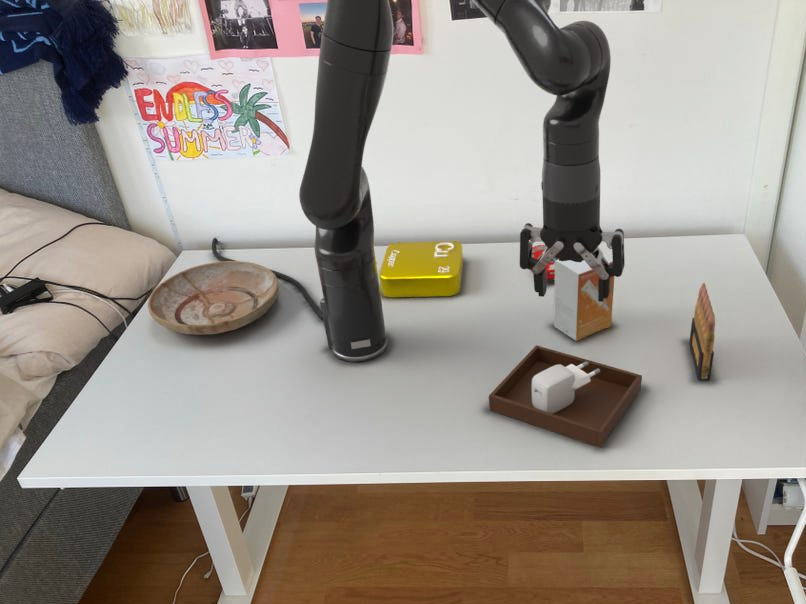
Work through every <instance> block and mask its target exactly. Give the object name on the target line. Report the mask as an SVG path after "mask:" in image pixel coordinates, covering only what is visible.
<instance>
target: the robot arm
mask: <svg viewBox="0 0 806 604" xmlns="http://www.w3.org/2000/svg"><path fill="white" fill-rule="evenodd" d="M326 1H327V2H326V8H325V16H324V19H323V20H324V21H323V26H322V33H321V40H320V46H319V47H320V48H319V55H318V66H317V75H316V76H317V78H316V87H315V100H314V101H315V102H314V120H313V129H312V130H313V132H312V138H311V141H310V142H311V143H310V147H309V150H308V151H309V152H308V157H307V161H306V165H305V168H304V172H303V175H302V179H301V183H300V187H299V191H298V195H299V196H298V198H299V204H300V207H301V210H302V212H303V214H304V216H305V217H306V218H307V220H308V221H309V222H310V223H311V224H312V225H313V226H315V237H314V244H313V245H314V255H315V260H316V266H317V270H318V275H319V280H320V287H321V292H322V297H323V298H321V299H320V301H319V305H320V308H319V306H318V304H317V303H316V302H315V301H314V300H313V298H312V297H311V295H310V294H309V292H308V291H307V289H306V288H305V286H303V285H302V284H301V283H300V282H299V281H297V280H296V279H295V278H293V277H291V276H289V275H287V274H284V273H282V272H279V271H276V270H273V269H270V268H268V269H269V270H271V271H272V272H273V273H274V274H275V276H276V277H277V278H280V279H283V280H284V281H287V282H289V283H291V284H293V285H294V286H295V287H296V288H298V290H299V291H300V292H301V294H302V295H303V297H304V298H305V300H306V301H307V302H308V304H309V305H310V306H311V308H312V309H313V312H315V314H316V315H317V316H318V318H319V319H320V320H321V321H323V326H324V331H325V336H326V341H327V348H328V349H329V350H331V351H332V352H333V355H334V356H335V357H336V358H337V359H338V360H339V359H340V360H342V361H344V362H350V363H357V362H366V361H369V360H372V359H375V358H377V357H379V356H381V355H382V354H383V353H384V352H386V350H387V348H388V343H389V342H388V336H387V332H386V326H385V315H384V310H383V304H382V295H381V286H380V279H379V273H378V267H377V259H376V252H375V242H374V240H375V224H374V223H375V221H374V214H373V204H372V196H371V187H370V183H369V178H368V176H367V175H368V174H367V173H366V171H365V169H364V167H363V158H364V154H365V153H364V152H365V147H366V142H367V139H368V135H369V132H370V131H371V127H372V124H373V121H374V118H375V115H376V112H377V109H378V107H379V104H380V102H381V101H380V100H381V97H382V93H383V90H384V87H385V83H386V79H387V74H388V69H389V64H390V58H391V52H392V48H393V42H394V20H393V14H392V9H391V5H390V0H326ZM471 1H472V2H473V4H474V5H475V6H476V7H477V8H478V9H479V10H480V12H482V13H483V14H484V15H485V16H486V17H487V18H488V19H489V20H490V22H492V23H493V25H494V26H496V28H497V29H499V31H500V32H502V33H503V35H504V36H505V39H506V40H507V42H508V44H509V46H510V48H511V50H512V52H513V53H514V55H515V57H516V58H517V60H518V62H519V63H520V64H521V67H522V69H523V70H524V72H525V73H526V75H527V76H528V78H529V79H530V80H531V81H532V83H533V84H535V86H537V87H538V88H540V89H541V90H542V91H544V92H545V93H547V94H550V95H553V96H555V101H554V103H553V104H552V106H551V107H550V108H549V109H548V111H547V112H546V114H545V116H544V118H543V122H542V150H543V151H542V152H543V154H542V155H543V159H542V169H541V182H540V183H541V185H540V186H541V191H542V195H541V197H542V227H536V226H533V224H532V223H530V222H527V223H525V224H524V226H523V227H522V229H521V231H520V234H519V268H520V269H522V270H530V271H531V272H532V274H533V289H534V292H535V293H538V297H540V298H541V297H542V298H543V297H545V296H546V292H547V289H548V284H547V283H548V282H546V268H545V267H546V265H548V264H549V263H550V262H551V260H552V259H553V258H554V257H556V258H558V259H559V261H568V260H571V261H574V262H582V261H584V260H585V261H586V263H587V264H588V265H589V267H590V268H591V269H594V270H595V271H596V273H597V274H598V275H599V282H598V301H599V302H604V299H605V298H608V296H609V293H610V283H611V277H612V276H614V277H617V278H619V277H622V274H623V272H624V268H625V265H626V264H625V263H626V262H625V260H626V259H625V234H624V233H625V232H624V230H623V229H622V228H616V229H615V231H603V230H602V227H601V164H600V119H601V116H602V115H601V114H602V110H603V107H604V104H605V98H606V94H607V88H608V83H609V79H610V73H611V62H612V61H611V59H612V58H611V49H610V44H609V40H608V38H607V35H606V34H605V32H604V31H603V29H602V28H601V27H600V26H599V25H598V24H596V23H594V22H592V21H589V20H578V21H574V22H571V23H568V24H567V25H565V26H562V27H559V26H557V24H556V23H555V22H554V21H553V19H552V18H551V16H550V15H549V12H550V8H551V5H552V0H471ZM538 238H540V240H541V241H542V242H543V245H546V246H547V248H546V249H545V251H544V252H543V253H542V255H541V256H540V257H539V258H538V259H536V258H533V257H532V247H533V244H534V243H536V241H537V239H538ZM218 242H219V241H218V238H217V237H214V238H213V239H212V242H211V251H212V254H213V257H215V258H216V259H217V260H219V261H220V262H222V261H236V260H235V259H231V258H227V257H225V256H223V255H220V254H219V252H218V251H217V243H218ZM602 242H604V243H605V244H606V247H607V248H608V249H609V250H611V258H612V259H613V264H609V263H608V261H607V260H606V259H605V258H604V256H603V254H604V252H603V251H602V250H601V249H600V247H599V246H600V244H602Z"/></svg>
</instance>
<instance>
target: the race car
mask: <svg viewBox="0 0 806 604" xmlns="http://www.w3.org/2000/svg"><path fill="white" fill-rule="evenodd" d="M546 248H547V246H546V245H545V244H538V245H535V246H532V257H533V258H536V259H538V258H539V257H540V256H541V255H542V253H543V252H544V251H545V249H546ZM556 260H559V259H558V258H556V257H554V258H553V259H552V260H551V262H550V263H549V264H548V265H546V267H545V268H546V282H547V283H550V282H551V283H552V282H555V261H556Z"/></svg>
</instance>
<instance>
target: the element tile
mask: <svg viewBox="0 0 806 604" xmlns="http://www.w3.org/2000/svg"><path fill="white" fill-rule="evenodd" d="M463 266H464V254H463V245H462V243H461V242H459V241H457V240H456V241H455V240H454V241H453V240H447V241H445V240H444V241H413V242H412V241H409V242H407V241H405V242H393V243H390V244H389V245H388V246H387V248H386V249H385V253H384V256H383V260H382V264H381V267H380V271H379V273H378V278H379V285H380V292H381V294H382V295H383V296H384V297H386V298H393V299H394V298H426V297H427V298H430V297H434V298H435V297H452V296H455V295H457V294H458V293H459V292H460V290H461V286H462V285H461V284H462V276H463Z"/></svg>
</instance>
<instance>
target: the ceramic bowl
mask: <svg viewBox="0 0 806 604" xmlns="http://www.w3.org/2000/svg"><path fill="white" fill-rule="evenodd" d="M269 269H270V268H267V267H266V266H264V265H261V264H258V263H256V262H255V263H254V262H249V261H240V260H235V261H214V262H213V261H212V262H208V263H204V264H199V265H196V266H192V267H189V268H187V269H184V270H182V271H179V272H177V273H176V274H173V275H172V276H170V277H168V278H167V279H165V280H164V281H162V282H161V283H159V284H158V285H157V287H155V288H154V290H152V292H151V294H150V295H149V297H148V301H147V310H148V312H149V315H150V317H151V318H152V319H153V320H154V321H155V322H156V323H157V324H159V325H160V326H162V327H163V328H165V329H167V330H170V331H173V332H176V333H179V334H186V335H195V336H196V335H215V334H216V335H217V334H222V333H226V332H231V331H235V330H238V329H240V328H243V327H245V326H247V325H249V324H251V323H252V322H254V321H256V320H258V319H260V318H261V317H262V316H263V315H265V314H266V313H267V312H268V311H269V309H271V307H272V306H273V305H274V303H275V302H276V300H277V298H278V295H279V292H280V291H279V290H280V283H279V280H278V277H277V276H275V274H274V273H273V272H272V271H271V270H272V269H270V270H269Z"/></svg>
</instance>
